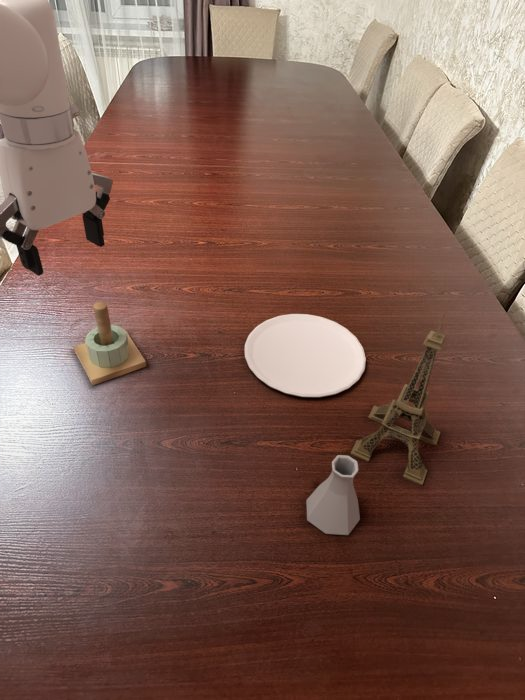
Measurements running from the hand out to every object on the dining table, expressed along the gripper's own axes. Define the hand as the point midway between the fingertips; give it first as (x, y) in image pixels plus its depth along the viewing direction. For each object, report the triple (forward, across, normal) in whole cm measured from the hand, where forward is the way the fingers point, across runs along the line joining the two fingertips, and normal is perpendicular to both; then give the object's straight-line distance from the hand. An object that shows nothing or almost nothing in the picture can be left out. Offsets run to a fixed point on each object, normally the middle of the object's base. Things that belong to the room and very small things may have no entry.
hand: (66, 256), depth 70 cm
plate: (+22, -26, +24) cm, 41 cm away
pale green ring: (+20, -4, 0) cm, 21 cm away
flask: (+22, -4, +44) cm, 49 cm away
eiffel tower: (+22, -20, +45) cm, 54 cm away
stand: (+22, -4, 0) cm, 22 cm away
